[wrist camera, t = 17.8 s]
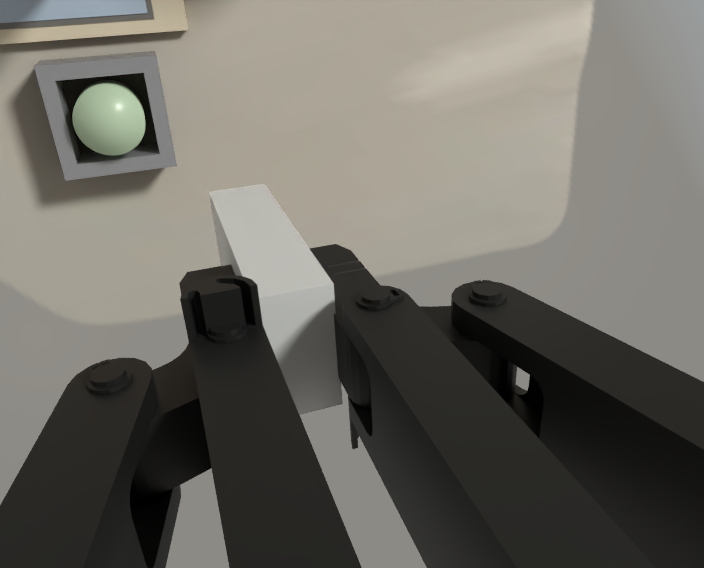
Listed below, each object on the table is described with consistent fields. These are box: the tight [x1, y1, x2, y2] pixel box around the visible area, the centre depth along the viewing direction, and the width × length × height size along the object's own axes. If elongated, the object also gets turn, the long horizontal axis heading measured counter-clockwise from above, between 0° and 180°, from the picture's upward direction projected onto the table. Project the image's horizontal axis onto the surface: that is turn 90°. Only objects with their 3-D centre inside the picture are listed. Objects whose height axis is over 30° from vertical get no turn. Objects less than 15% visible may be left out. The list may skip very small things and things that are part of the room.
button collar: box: [34, 51, 177, 181], centre depth 34 cm, size 6×6×2 cm
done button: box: [72, 80, 145, 156], centre depth 33 cm, size 4×4×3 cm
